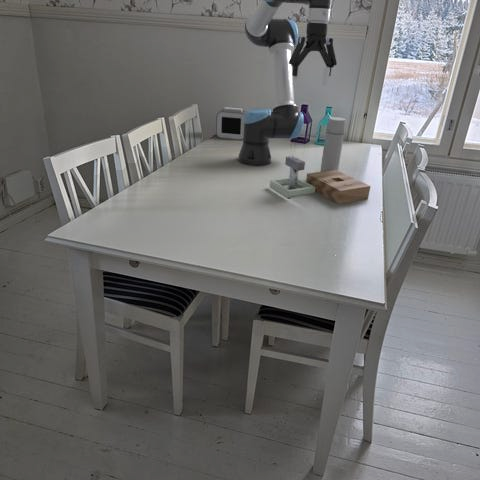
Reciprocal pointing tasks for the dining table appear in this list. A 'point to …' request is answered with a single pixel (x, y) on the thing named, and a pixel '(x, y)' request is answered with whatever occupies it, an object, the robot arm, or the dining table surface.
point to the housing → (338, 186)
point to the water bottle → (333, 144)
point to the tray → (285, 192)
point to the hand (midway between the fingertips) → (310, 85)
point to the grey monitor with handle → (230, 123)
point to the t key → (294, 170)
